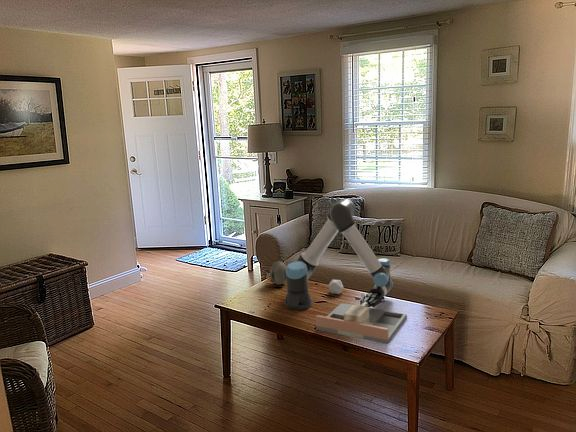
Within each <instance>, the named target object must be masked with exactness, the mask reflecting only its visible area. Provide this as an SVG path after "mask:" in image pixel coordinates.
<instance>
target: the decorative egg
mask: <svg viewBox="0 0 576 432" xmlns="http://www.w3.org/2000/svg"><path fill="white" fill-rule="evenodd" d="M286 267H287V265H286V264H285V263H284V262H282V261H281V260H279V261H277V260H276V261H274V263H272V264H271V267H270V269H269V276H270V279H271V282H273V283H274V284H276V285H278V286H279V285H283V284H285V283H287V279H286Z"/></svg>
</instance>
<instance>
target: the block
mask: <svg viewBox="0 0 576 432" xmlns="http://www.w3.org/2000/svg"><path fill="white" fill-rule="evenodd" d="M352 305H353V306H352V307H351V308H350V309H348V310H347V311H346V312H345V313H344V320H347V321H352V322H357V323H363V324H368V323H369V308H370V307H365V306H361V305H360V304H352Z"/></svg>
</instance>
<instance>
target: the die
mask: <svg viewBox="0 0 576 432" xmlns="http://www.w3.org/2000/svg"><path fill="white" fill-rule="evenodd" d="M327 285H328V286H327V287H328V290H329V292H330V293H331V295H333V294H334V295H340V294H341V293H342V292H343V290H344V285H343V282H342V281H341V280H340V279H331V281H330V282H329V283H328V284H327Z"/></svg>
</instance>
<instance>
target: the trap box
mask: <svg viewBox="0 0 576 432" xmlns="http://www.w3.org/2000/svg"><path fill="white" fill-rule="evenodd" d="M353 305H354V304H348V303H344V302H343V303H342V302H340V303H339V305H338V306H336V308H334V309H333V310H332V311H331V312H330V313H328V314H327V315H326V316H324V315H321V314H317V315H315V328H316V331H317V330H318V331H323V332H327V333H333V334H337V335H341V336H347V337H351V338H356V339H361V340H365V341H366V340H367V341H370V342H376V343H380V344H384V345H385V344H386V345H388V344H389V343H390V342H391V340H392V339H393V337H394V336H395V335H396V334H397V332H398V331H399V329H400V328H401V326H403V324H404V322H406V320H407V317H408V316H407V315H408V314H407V313H401V312H396V311H389V310H384V309H378V308H374V307H369V323H368V324H363V323H357V322H352V321H347V320H344V313H345V312H346V311H347V310H348V309H350V308H351V307H352V306H353Z"/></svg>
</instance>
